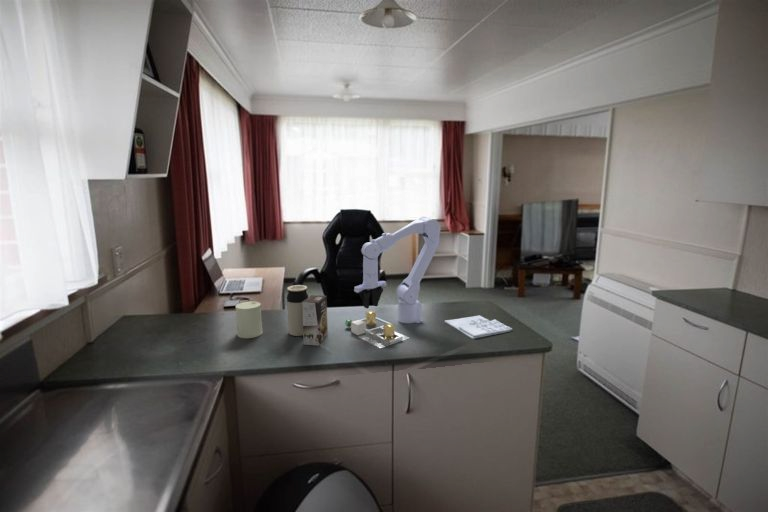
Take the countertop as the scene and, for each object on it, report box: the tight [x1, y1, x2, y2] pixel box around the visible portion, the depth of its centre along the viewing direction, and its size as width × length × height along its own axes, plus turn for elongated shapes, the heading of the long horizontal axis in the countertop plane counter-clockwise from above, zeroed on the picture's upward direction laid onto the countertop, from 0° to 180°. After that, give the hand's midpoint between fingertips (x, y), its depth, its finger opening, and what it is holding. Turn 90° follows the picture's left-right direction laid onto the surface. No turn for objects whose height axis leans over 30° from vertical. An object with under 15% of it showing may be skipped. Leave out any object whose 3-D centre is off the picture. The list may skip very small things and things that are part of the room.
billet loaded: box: [383, 323, 396, 340], centre depth 149 cm, size 4×4×6 cm
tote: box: [360, 316, 393, 331], centre depth 165 cm, size 12×12×2 cm
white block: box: [350, 319, 367, 336], centre depth 156 cm, size 4×4×5 cm
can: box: [235, 300, 264, 339], centre depth 157 cm, size 9×9×12 cm
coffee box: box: [302, 294, 329, 347], centre depth 150 cm, size 9×6×16 cm
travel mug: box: [286, 284, 309, 337], centre depth 158 cm, size 8×8×18 cm
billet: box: [365, 310, 377, 327], centre depth 165 cm, size 4×4×6 cm
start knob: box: [344, 318, 353, 328], centre depth 159 cm, size 3×7×3 cm, turn 40°
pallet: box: [358, 326, 410, 349], centre depth 151 cm, size 14×13×3 cm
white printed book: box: [444, 315, 513, 340], centre depth 166 cm, size 19×20×2 cm
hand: (370, 306), depth 164 cm, fingers open, 4 cm apart
